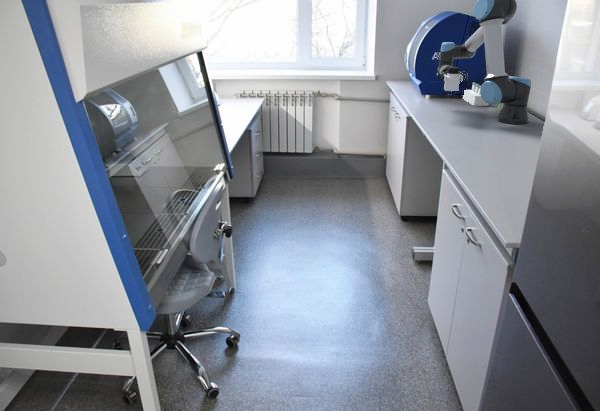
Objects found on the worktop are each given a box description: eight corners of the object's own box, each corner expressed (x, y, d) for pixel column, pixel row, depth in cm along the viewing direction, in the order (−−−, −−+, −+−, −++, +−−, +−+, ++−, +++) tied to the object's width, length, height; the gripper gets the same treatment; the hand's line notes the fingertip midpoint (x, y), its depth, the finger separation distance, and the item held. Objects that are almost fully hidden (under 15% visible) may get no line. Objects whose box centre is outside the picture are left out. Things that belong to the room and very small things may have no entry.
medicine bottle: (458, 91, 259) (461, 68, 254) (444, 90, 260) (447, 67, 256) (457, 88, 265) (460, 66, 261) (443, 88, 267) (446, 65, 262)
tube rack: (488, 105, 299) (491, 87, 295) (473, 105, 299) (476, 87, 295) (476, 98, 319) (478, 81, 315) (462, 99, 319) (464, 81, 315)
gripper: (465, 79, 277) (473, 86, 256) (428, 79, 279) (433, 85, 259) (466, 66, 274) (474, 71, 253) (429, 65, 276) (434, 71, 256)
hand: (453, 78), depth 256 cm, fingers closed on medicine bottle, 7 cm apart
